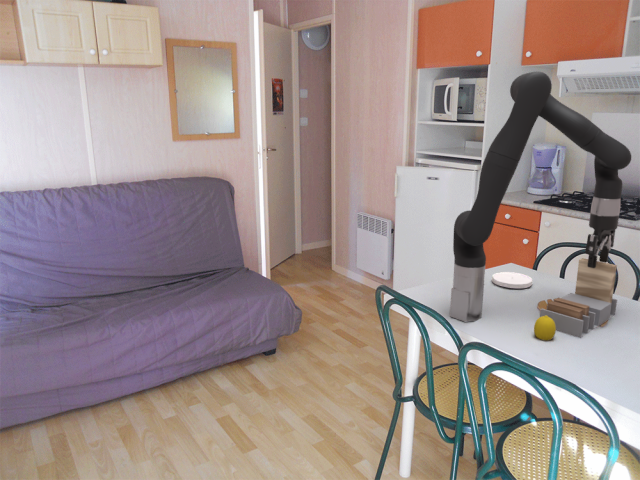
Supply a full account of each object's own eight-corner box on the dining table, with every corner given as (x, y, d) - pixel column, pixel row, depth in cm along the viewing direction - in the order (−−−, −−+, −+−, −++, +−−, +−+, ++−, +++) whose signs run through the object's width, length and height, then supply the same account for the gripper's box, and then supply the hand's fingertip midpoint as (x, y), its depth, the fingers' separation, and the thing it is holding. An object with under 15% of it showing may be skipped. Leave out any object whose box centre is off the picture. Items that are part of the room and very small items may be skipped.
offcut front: (576, 335, 144) (579, 311, 143) (545, 325, 151) (547, 303, 149) (580, 332, 146) (583, 309, 144) (549, 322, 153) (551, 300, 151)
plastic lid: (484, 279, 196) (485, 273, 195) (518, 277, 198) (519, 270, 198) (503, 292, 183) (504, 285, 182) (539, 289, 185) (540, 282, 184)
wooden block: (606, 317, 156) (613, 267, 152) (573, 307, 163) (579, 259, 159) (609, 315, 158) (616, 265, 154) (576, 305, 165) (582, 258, 161)
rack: (580, 342, 143) (582, 321, 141) (538, 329, 152) (540, 308, 150) (614, 319, 158) (617, 299, 156) (574, 308, 167) (577, 289, 165)
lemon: (536, 336, 148) (539, 310, 145) (556, 341, 144) (559, 314, 142) (529, 342, 143) (532, 316, 141) (550, 348, 140) (553, 321, 138)
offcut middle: (582, 331, 147) (585, 308, 145) (551, 321, 153) (554, 299, 152) (586, 328, 148) (589, 306, 147) (555, 319, 155) (558, 297, 153)
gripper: (601, 207, 160) (594, 257, 164) (581, 213, 151) (574, 266, 155) (627, 211, 154) (619, 262, 158) (608, 217, 145) (600, 272, 149)
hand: (597, 264), depth 157 cm, fingers open, 8 cm apart
